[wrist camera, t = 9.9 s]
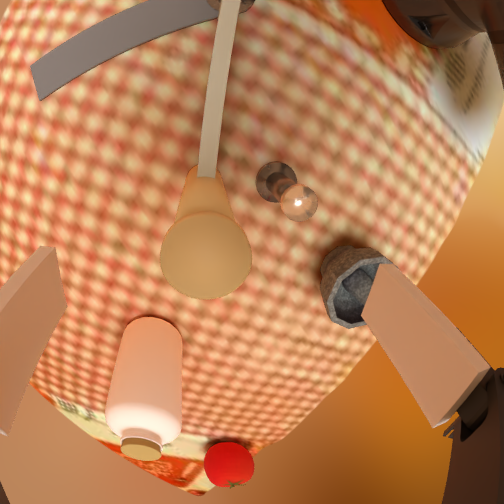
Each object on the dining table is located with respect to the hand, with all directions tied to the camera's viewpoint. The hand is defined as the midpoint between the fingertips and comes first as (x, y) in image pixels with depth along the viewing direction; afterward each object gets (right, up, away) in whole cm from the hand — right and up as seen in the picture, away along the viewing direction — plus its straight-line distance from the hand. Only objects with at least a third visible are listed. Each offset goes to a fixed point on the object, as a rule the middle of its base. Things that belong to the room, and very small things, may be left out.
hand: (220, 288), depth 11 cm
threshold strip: (-11, +24, +10) cm, 29 cm away
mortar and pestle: (+13, -1, +27) cm, 30 cm away
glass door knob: (+4, +9, +20) cm, 22 cm away
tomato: (-5, -41, +43) cm, 60 cm away
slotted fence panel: (-3, +16, +15) cm, 22 cm away
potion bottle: (-12, -10, +27) cm, 31 cm away
